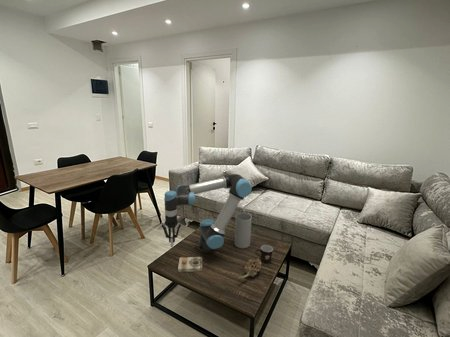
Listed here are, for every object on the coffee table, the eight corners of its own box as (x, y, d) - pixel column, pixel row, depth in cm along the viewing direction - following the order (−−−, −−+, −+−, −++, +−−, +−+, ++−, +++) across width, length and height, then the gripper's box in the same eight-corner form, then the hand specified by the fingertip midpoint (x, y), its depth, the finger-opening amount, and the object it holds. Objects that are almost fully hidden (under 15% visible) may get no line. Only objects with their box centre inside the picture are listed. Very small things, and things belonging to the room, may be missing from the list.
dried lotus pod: (251, 264, 171) (252, 252, 168) (263, 270, 165) (264, 258, 163) (234, 282, 154) (234, 269, 151) (247, 289, 148) (248, 276, 145)
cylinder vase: (252, 243, 196) (254, 215, 189) (245, 250, 186) (247, 221, 179) (239, 238, 203) (240, 211, 196) (231, 245, 192) (232, 217, 185)
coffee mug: (273, 258, 178) (274, 246, 175) (270, 265, 170) (271, 253, 167) (258, 254, 182) (258, 242, 180) (254, 260, 175) (255, 248, 172)
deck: (202, 259, 174) (202, 256, 174) (202, 271, 163) (202, 268, 162) (179, 260, 173) (179, 257, 172) (178, 272, 162) (178, 268, 161)
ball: (187, 261, 169) (187, 256, 168) (187, 264, 165) (187, 260, 164) (182, 261, 168) (182, 256, 167) (181, 264, 165) (181, 260, 164)
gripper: (181, 211, 160) (182, 242, 167) (161, 212, 159) (163, 243, 165) (180, 217, 153) (181, 249, 159) (159, 217, 152) (161, 249, 158)
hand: (172, 246), depth 162 cm, fingers closed
